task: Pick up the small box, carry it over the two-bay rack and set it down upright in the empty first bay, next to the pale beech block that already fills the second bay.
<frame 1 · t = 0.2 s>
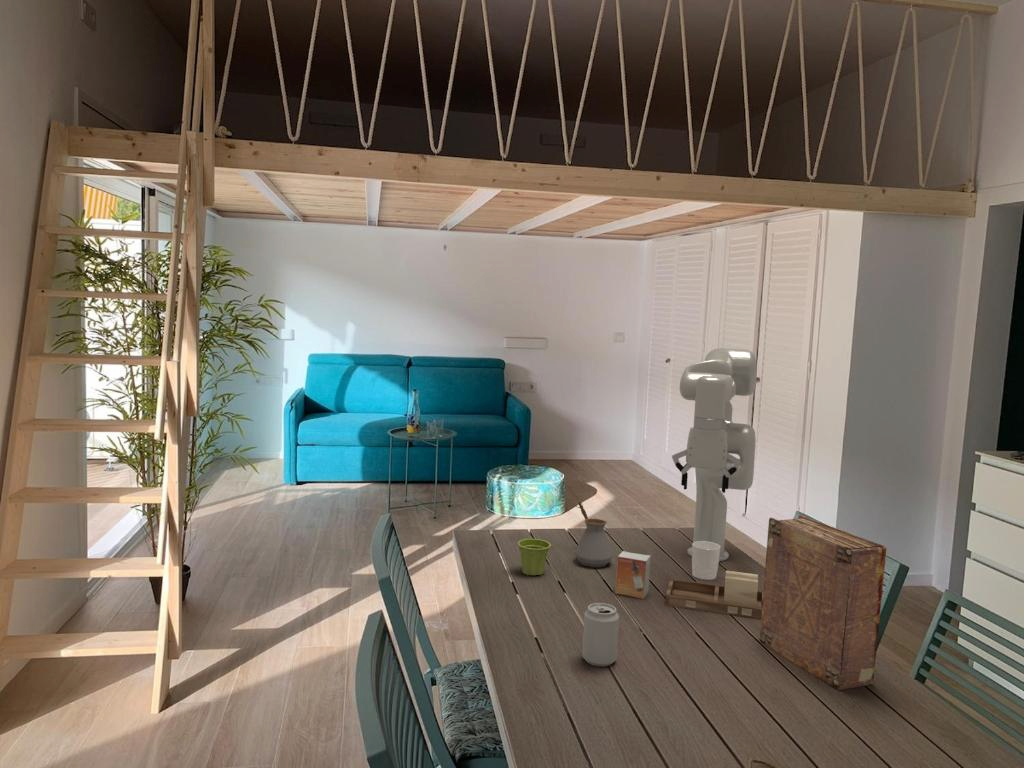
hand: (704, 490, 207), 31 cm above the table, tool pointing down, fingers open, 9 cm apart
white cup: (703, 579, 231), on the table
plant pot: (532, 573, 229), on the table
small box: (631, 594, 216), on the table
coffee pot: (587, 558, 245), on the table
can: (599, 661, 175), on the table
book: (813, 663, 178), on the table
rack: (715, 606, 209), on the table
beech block: (739, 606, 208), point 1 cm above the table, touching rack
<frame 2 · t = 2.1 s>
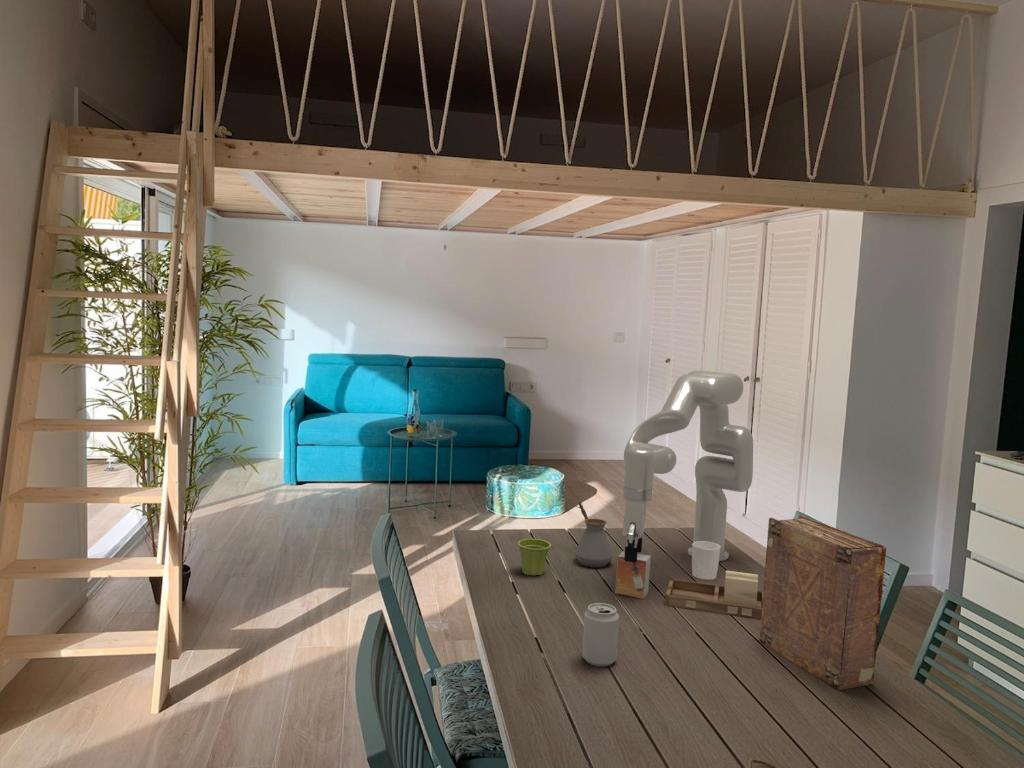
hand: (633, 556, 215), 10 cm above the table, tool pointing down, fingers open, 9 cm apart
nothing on the table moved.
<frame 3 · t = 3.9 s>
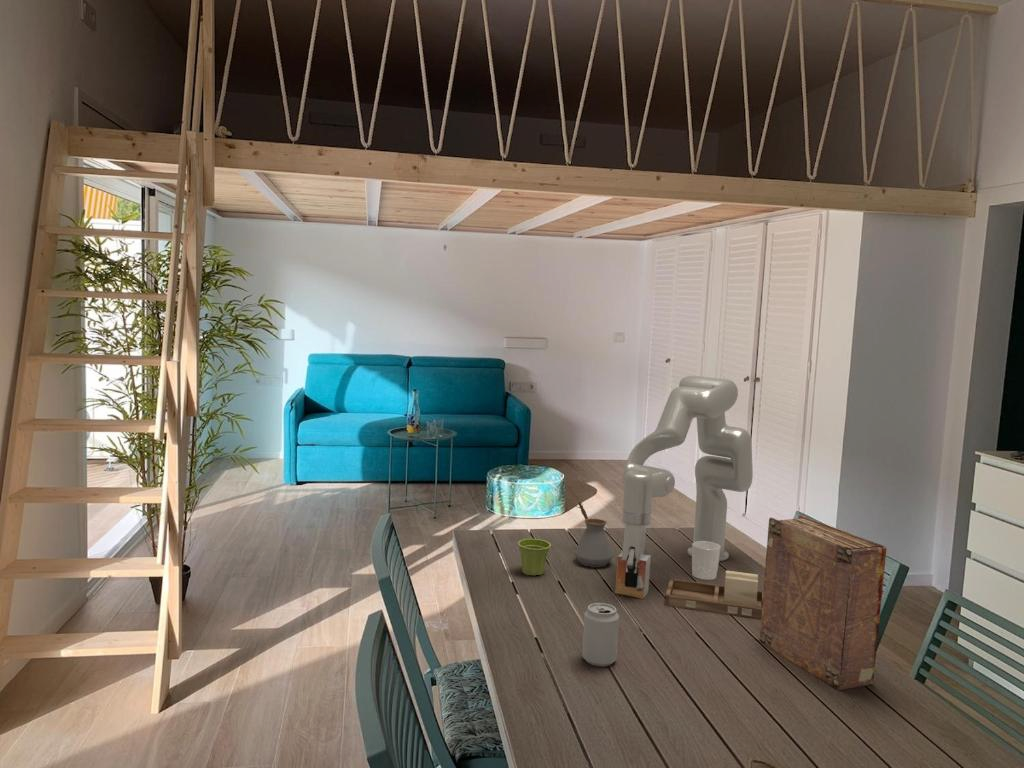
hand: (632, 582, 216), 3 cm above the table, tool pointing down, fingers closed on small box, 5 cm apart
small box: (631, 594, 216), on the table, touching gripper
everything else where it was.
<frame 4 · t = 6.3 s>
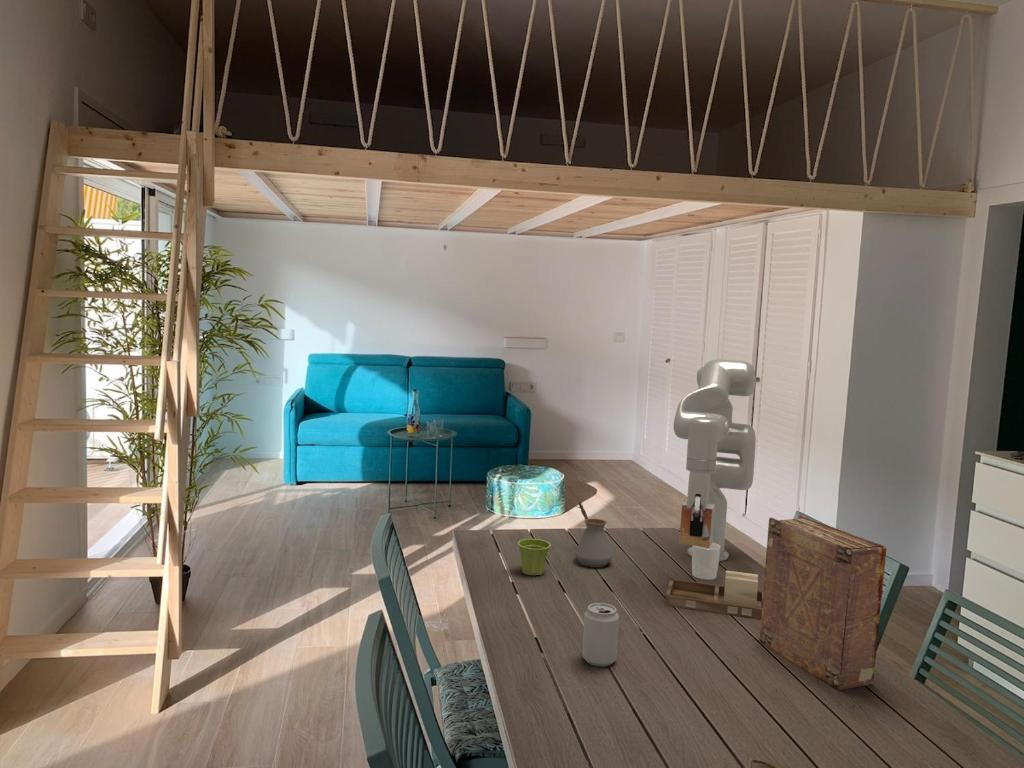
hand: (696, 531, 209), 19 cm above the table, tool pointing down, fingers closed on small box, 5 cm apart
small box: (695, 544, 210), point 16 cm above the table, touching gripper
everything else where it was.
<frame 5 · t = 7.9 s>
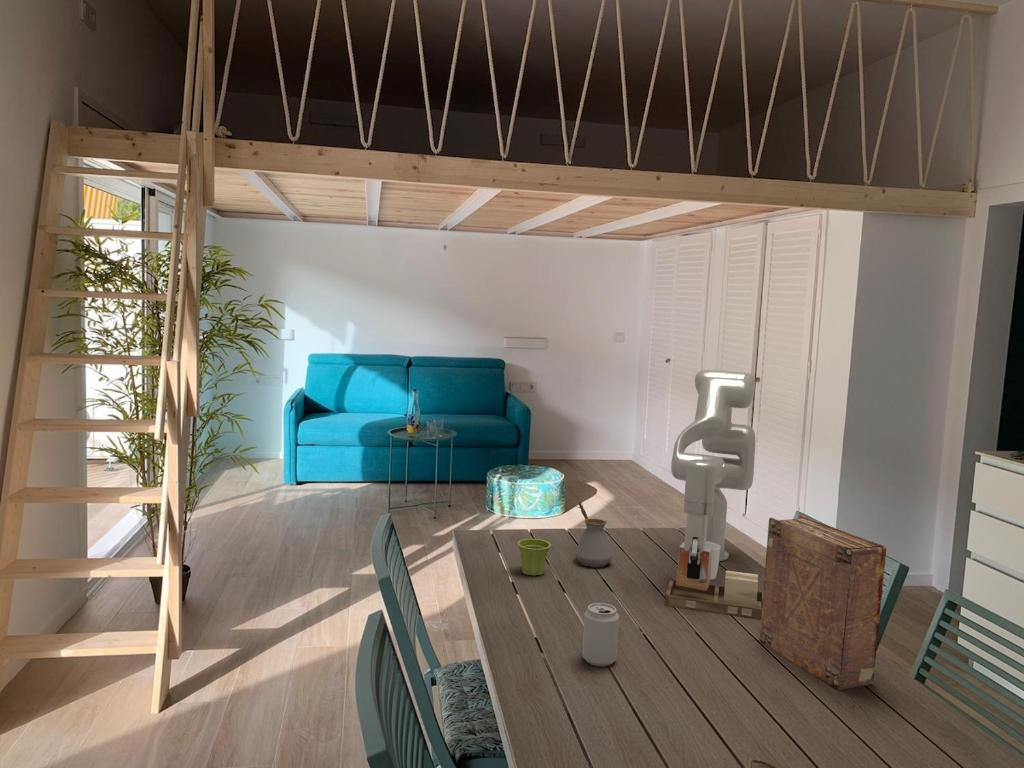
hand: (694, 573, 210), 8 cm above the table, tool pointing down, fingers closed on small box, 5 cm apart
small box: (693, 586, 210), point 5 cm above the table, touching gripper
everything else where it was.
when the fingers open (5 cm above the table, at t = 9.2 s): small box drops 1 cm, resting on rack.
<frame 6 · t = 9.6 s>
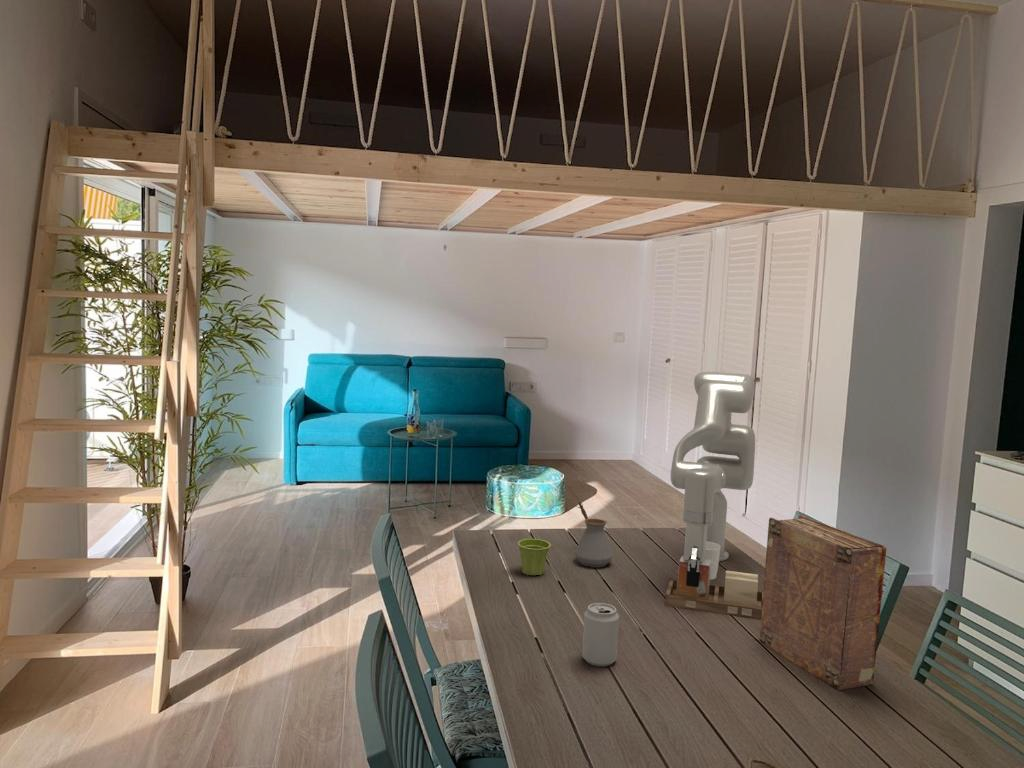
hand: (693, 580, 210), 6 cm above the table, tool pointing down, fingers open, 9 cm apart
small box: (692, 599, 211), point 1 cm above the table, touching rack
everything else where it was.
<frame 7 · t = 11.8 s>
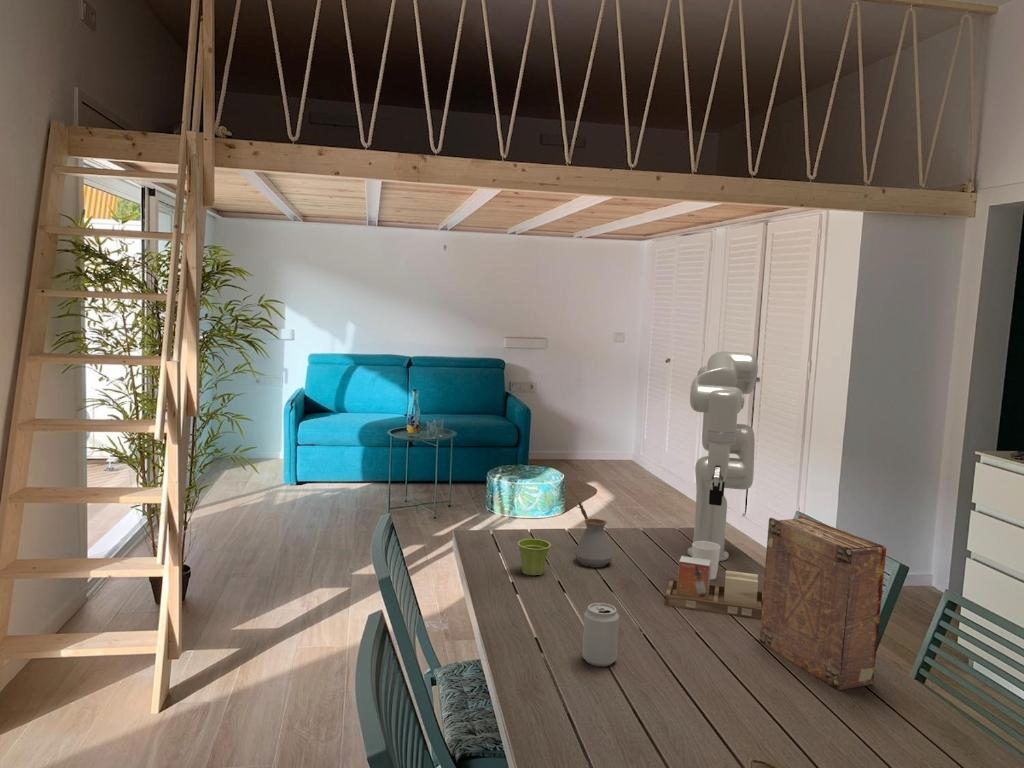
hand: (716, 500, 213), 27 cm above the table, tool pointing down, fingers open, 9 cm apart
nothing on the table moved.
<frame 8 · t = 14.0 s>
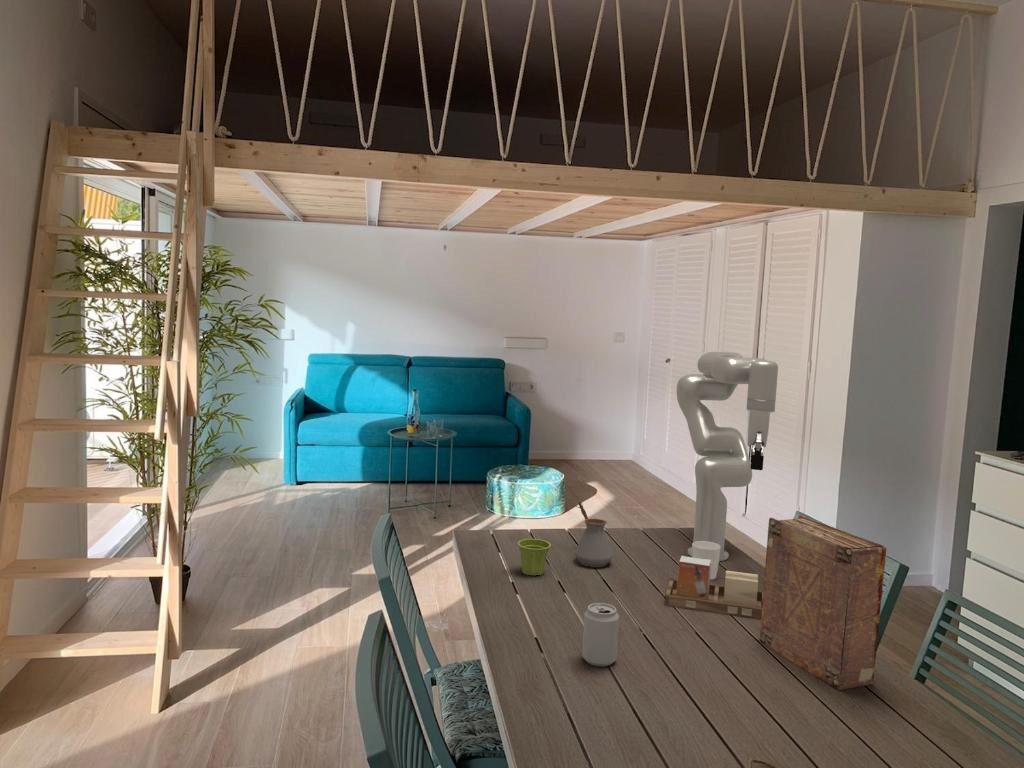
hand: (756, 466, 223), 34 cm above the table, tool pointing down, fingers open, 9 cm apart
nothing on the table moved.
at the end: small box inside the target area on the rack (0.5 cm from its centre), point 0.8 cm above the rack's base; small box tilted 0°; beech block moved 0.0 cm from its start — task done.
